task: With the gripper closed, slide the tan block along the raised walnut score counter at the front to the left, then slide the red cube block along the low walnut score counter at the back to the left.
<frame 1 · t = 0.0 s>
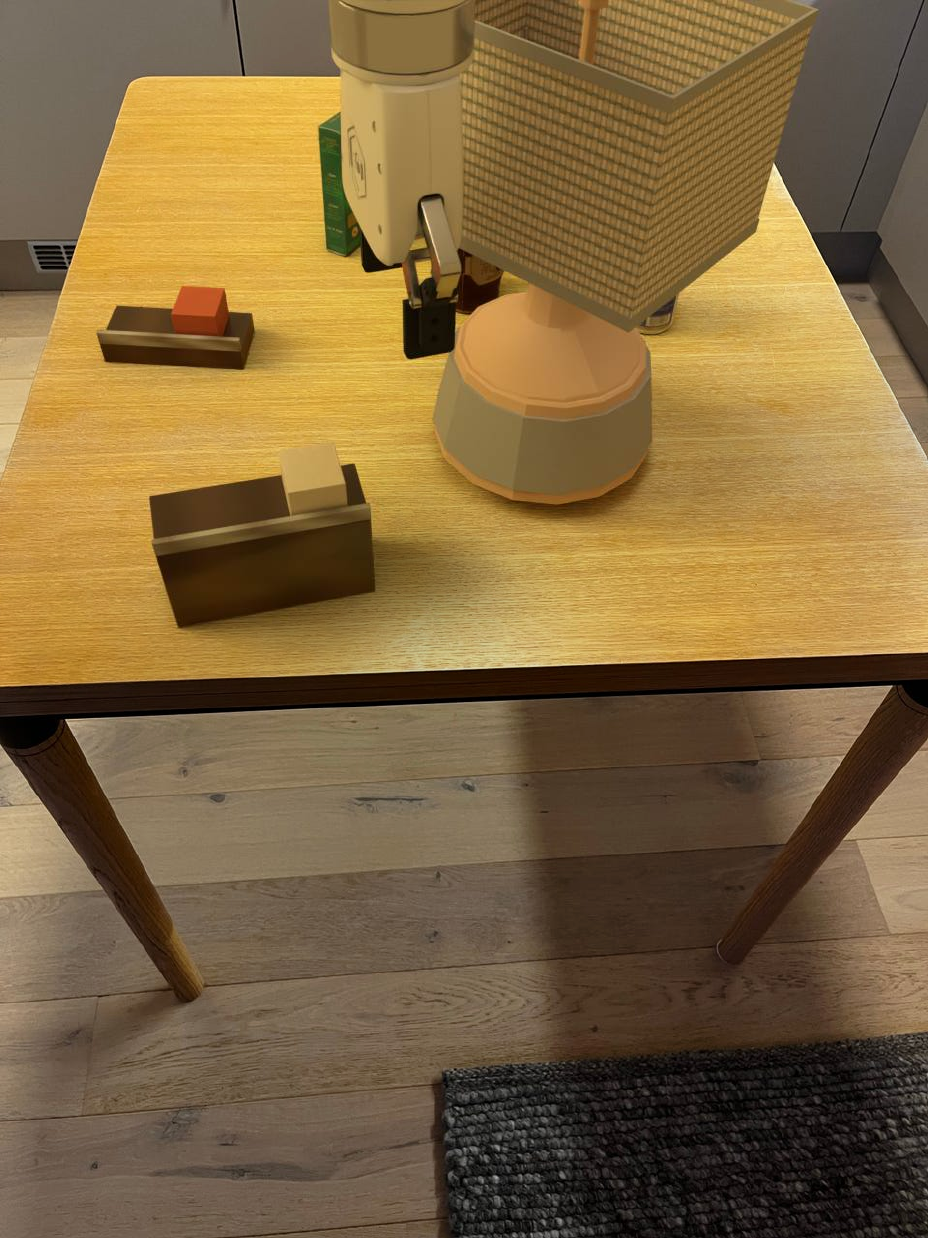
hand: (406, 308, 65), 21 cm above the table, tool pointing down, fingers open, 9 cm apart
action figure: (378, 173, 117), on the table
coffee cup: (470, 297, 102), on the table
red cube block: (200, 314, 93), point 4 cm above the table, slide at -2.5 cm
coffee box: (356, 238, 108), on the table
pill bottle: (645, 321, 101), on the table
desk lamp: (539, 445, 89), on the table
tan block: (313, 482, 71), point 10 cm above the table, slide at -4.0 cm
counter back: (181, 345, 95), on the table
counter front: (272, 580, 78), on the table
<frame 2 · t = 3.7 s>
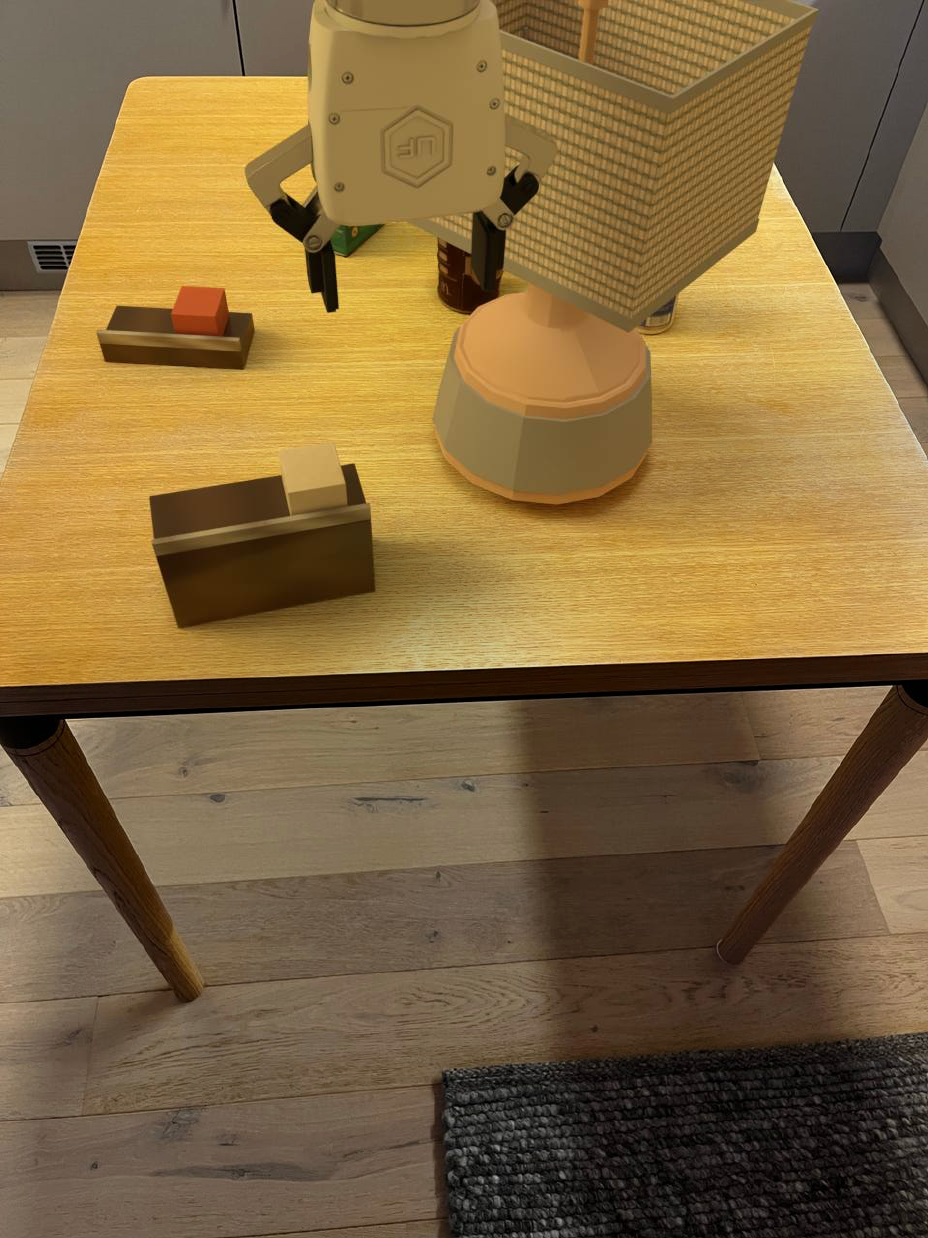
hand: (406, 289, 61), 24 cm above the table, tool pointing down, fingers open, 9 cm apart
nothing on the table moved.
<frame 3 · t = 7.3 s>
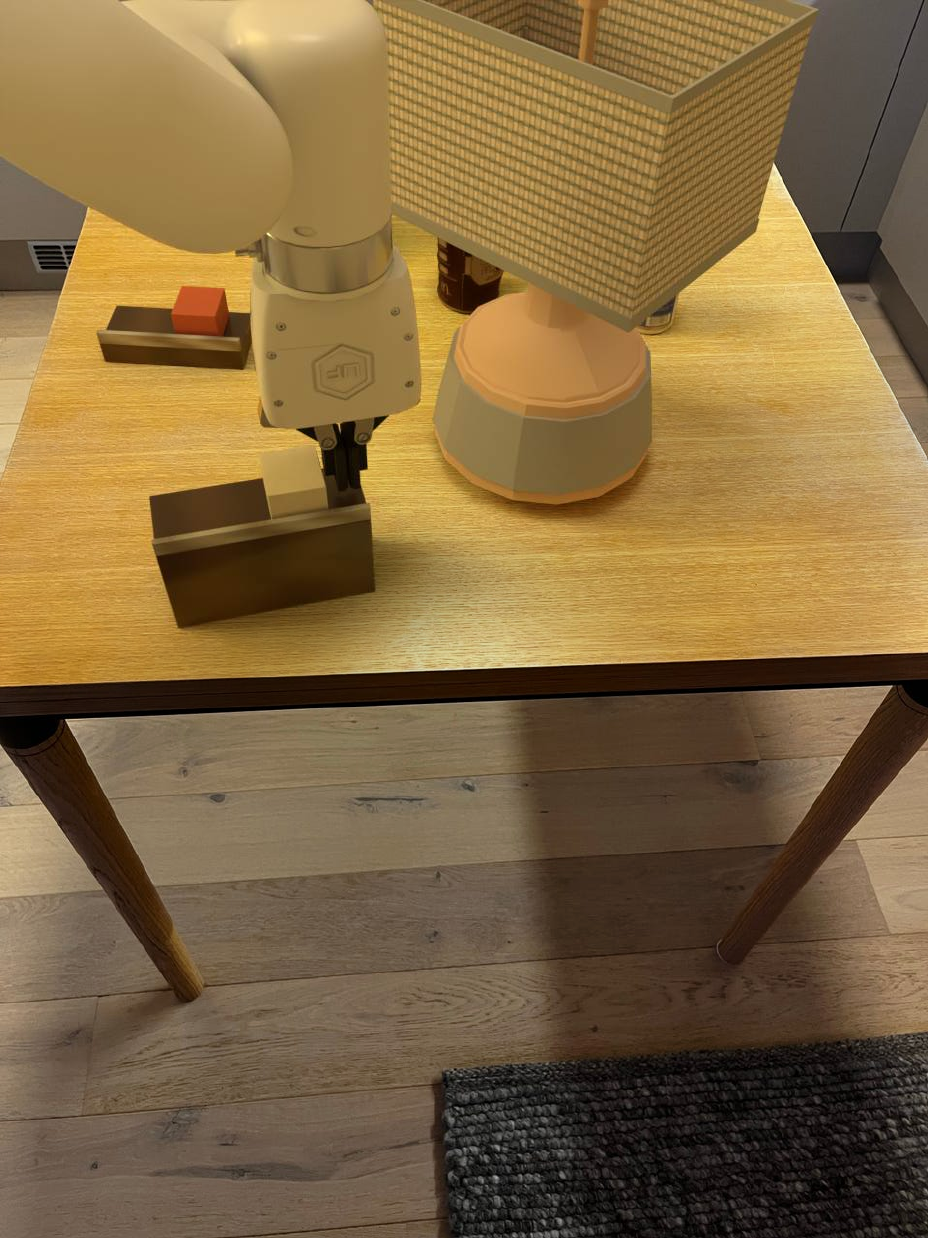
hand: (345, 476, 71), 10 cm above the table, tool pointing down, fingers closed
tan block: (294, 485, 71), point 10 cm above the table, slide at -2.6 cm, touching gripper
everything else where it was.
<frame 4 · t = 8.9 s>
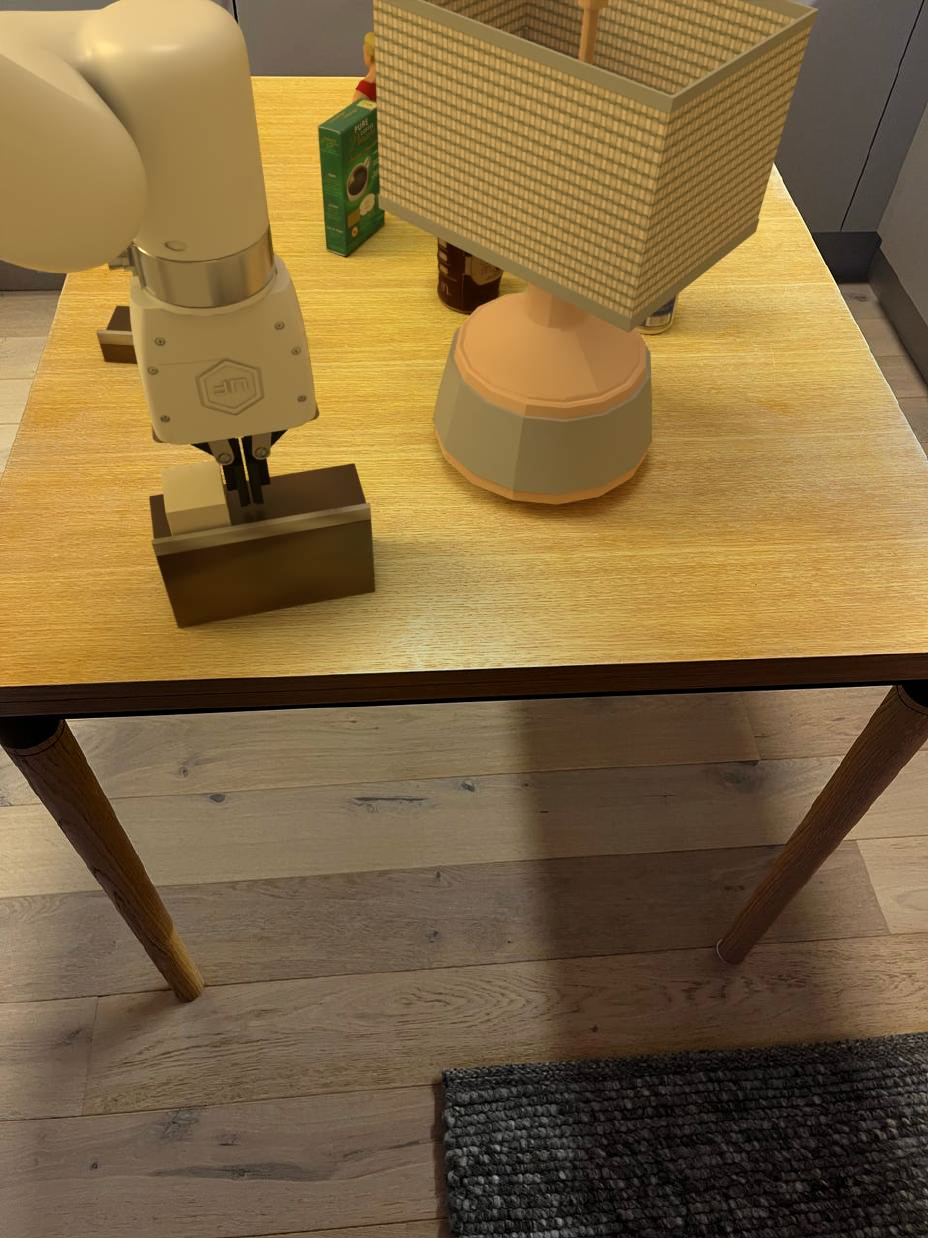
hand: (249, 491, 70), 10 cm above the table, tool pointing down, fingers closed
tan block: (196, 501, 69), point 10 cm above the table, slide at 4.1 cm, touching gripper
everything else where it was.
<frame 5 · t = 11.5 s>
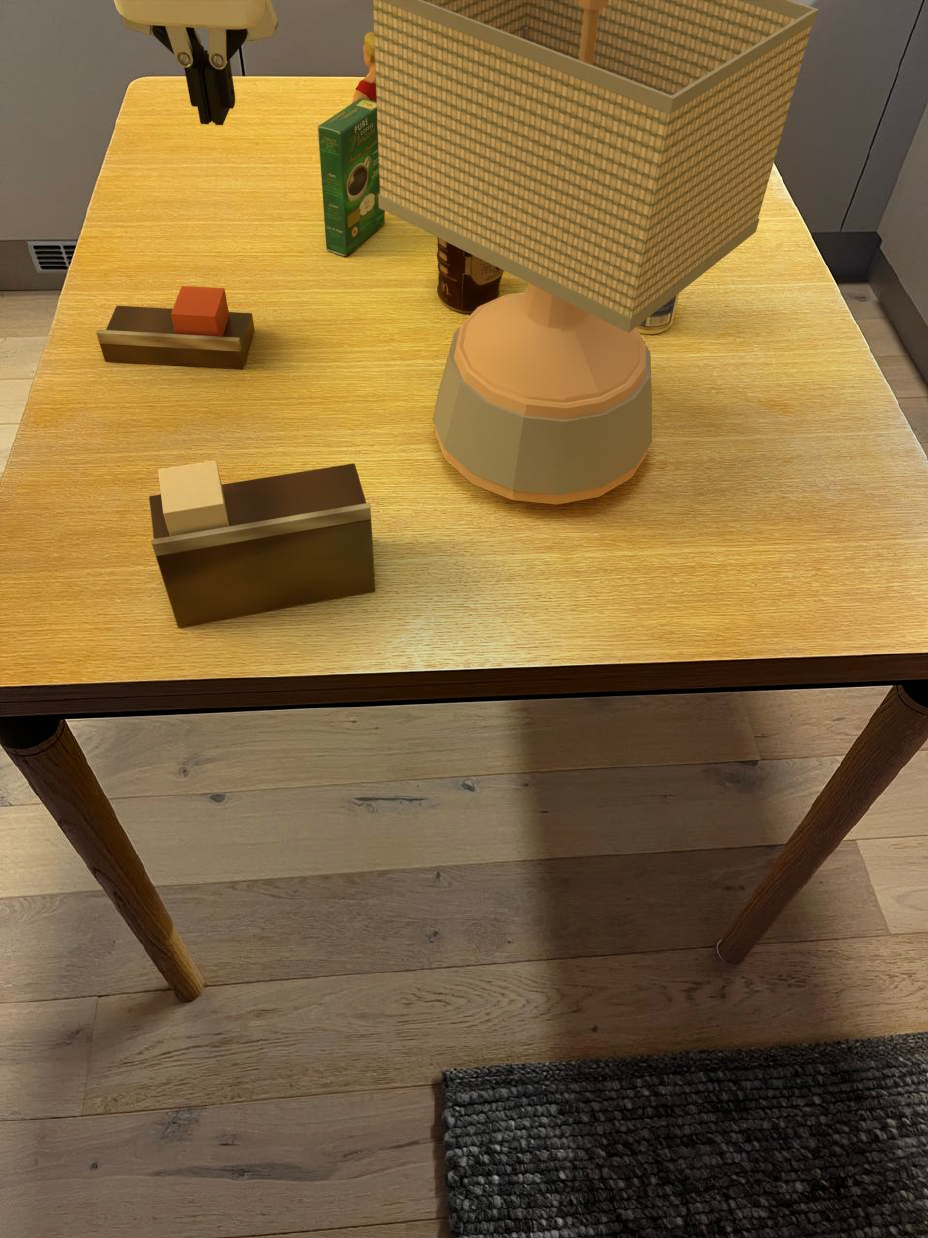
hand: (215, 115, 75), 23 cm above the table, tool pointing down, fingers closed
tan block: (194, 501, 69), point 10 cm above the table, slide at 4.3 cm
everything else where it was.
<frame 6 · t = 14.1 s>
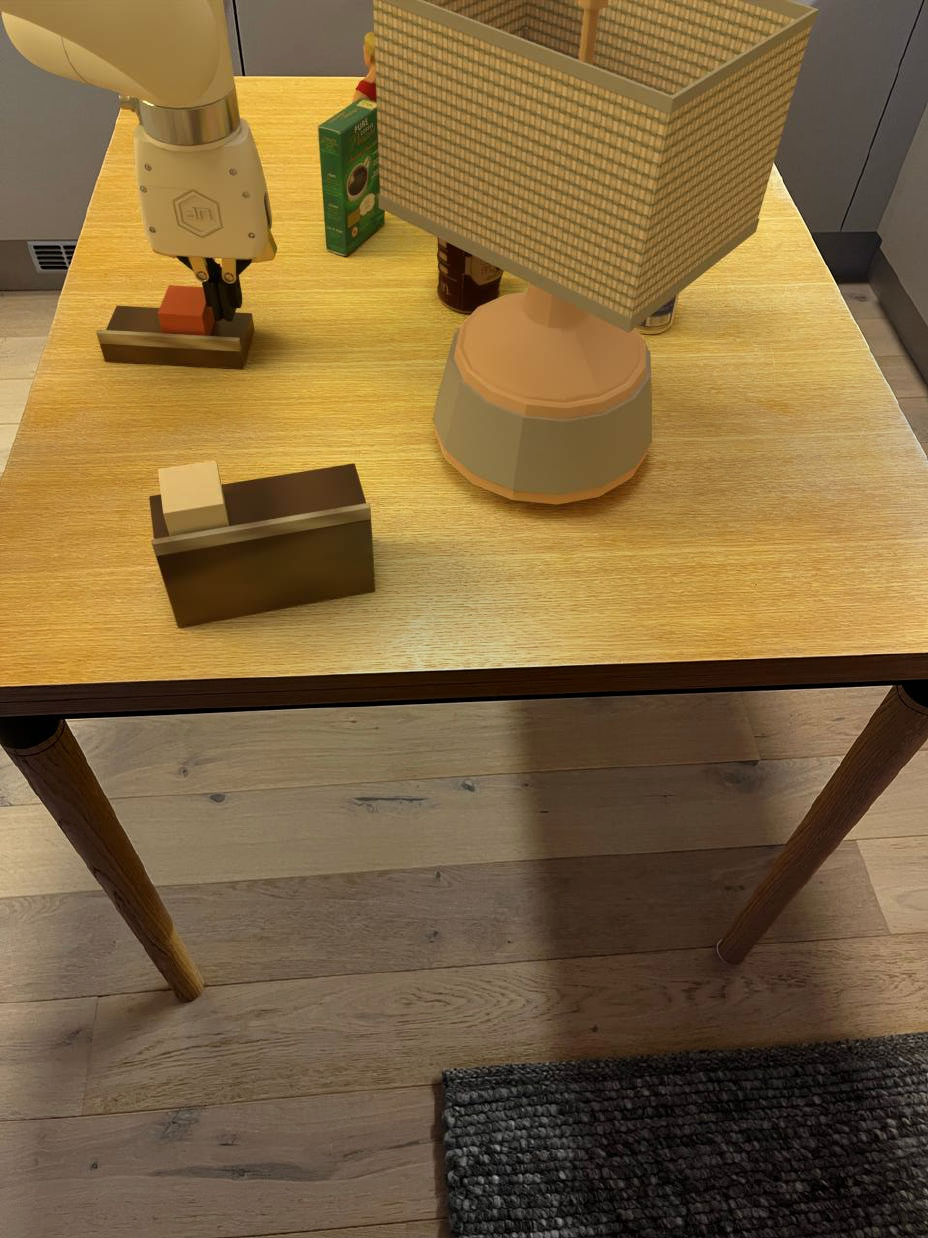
hand: (226, 311, 92), 4 cm above the table, tool pointing down, fingers closed
red cube block: (188, 314, 93), point 4 cm above the table, slide at -1.3 cm, touching gripper
everything else where it was.
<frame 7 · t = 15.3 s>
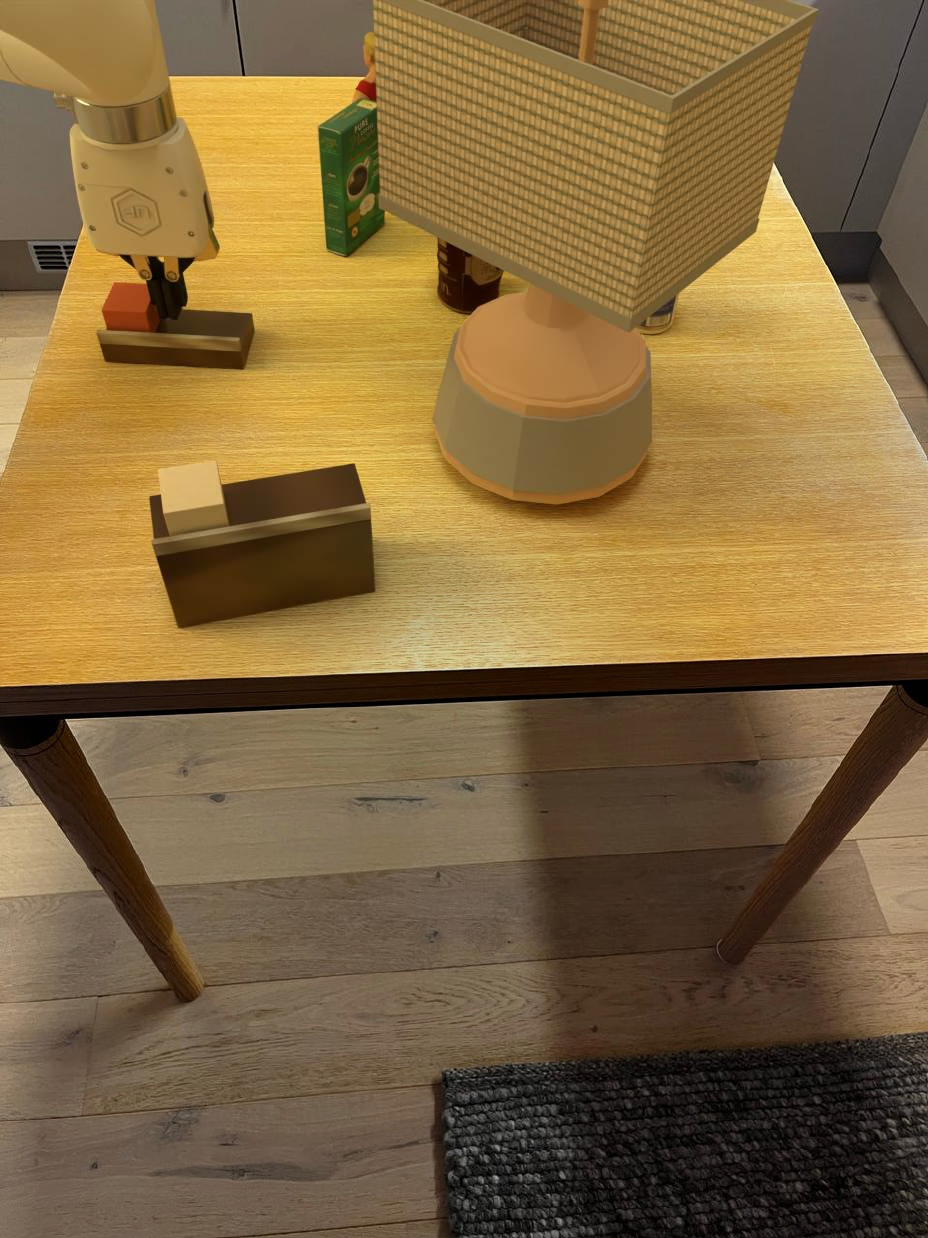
hand: (172, 310, 92), 4 cm above the table, tool pointing down, fingers closed
red cube block: (133, 310, 93), point 4 cm above the table, slide at 3.8 cm, touching gripper
everything else where it was.
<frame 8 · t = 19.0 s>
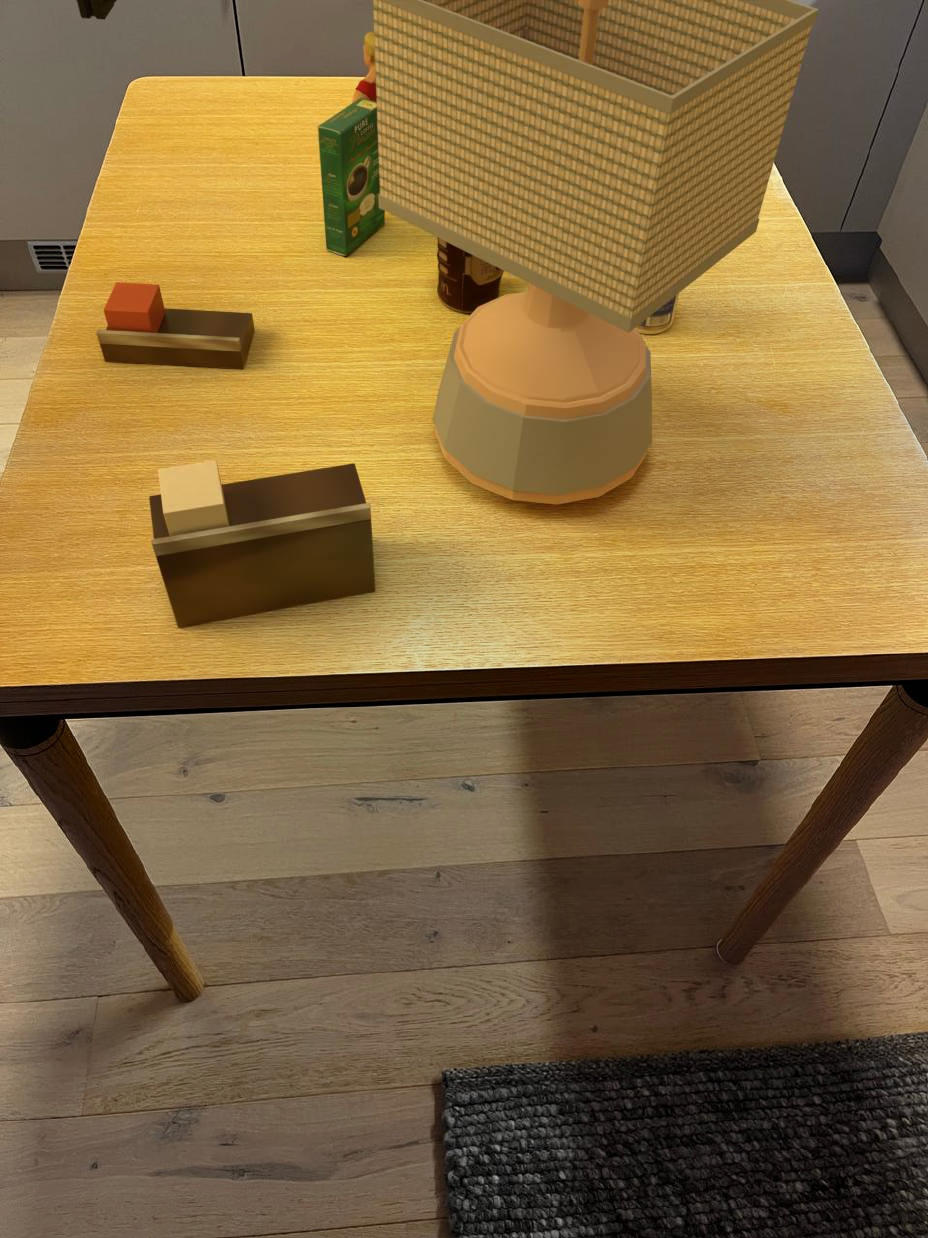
hand: (98, 10, 73), 29 cm above the table, tool pointing down, fingers closed
red cube block: (135, 311, 93), point 4 cm above the table, slide at 3.6 cm
everything else where it was.
at the end: tan block slide at 4.3 cm; red cube block slide at 3.6 cm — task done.
